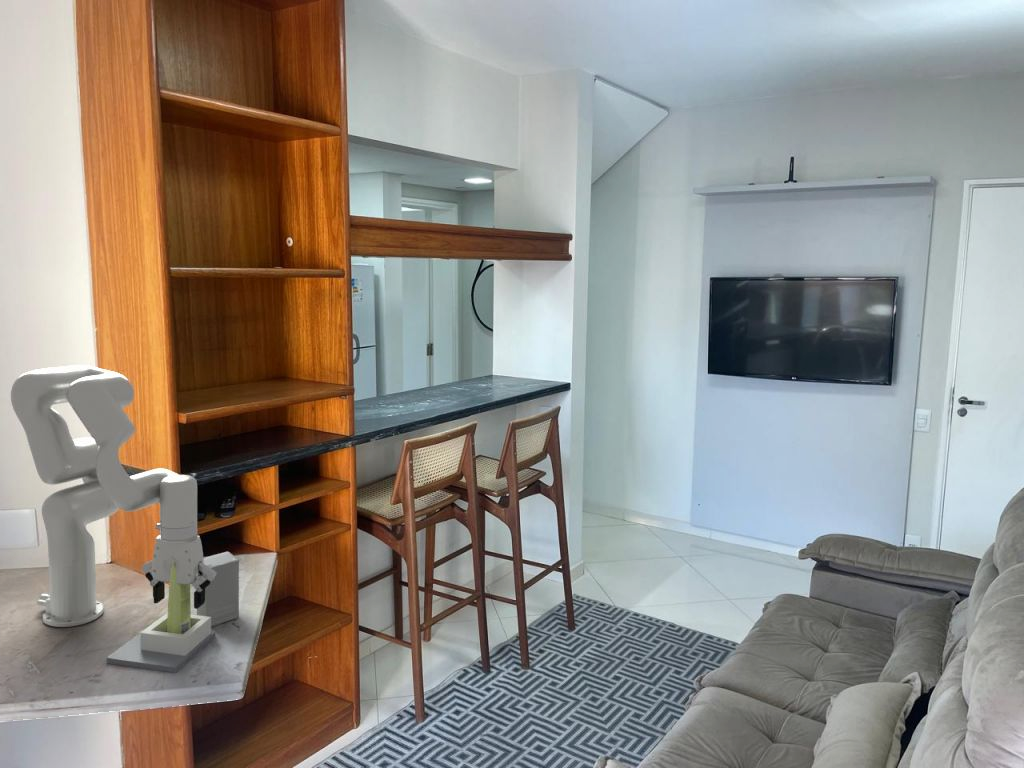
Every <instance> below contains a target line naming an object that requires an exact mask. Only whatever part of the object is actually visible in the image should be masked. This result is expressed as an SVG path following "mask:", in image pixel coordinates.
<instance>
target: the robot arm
mask: <svg viewBox="0 0 1024 768" xmlns="http://www.w3.org/2000/svg"><path fill="white" fill-rule="evenodd" d="M13 382H14V383H13V384H12V387H11V389H10V390H11V392H10V402H11V406H12V409H13V411H14V414H15V415H16V417H17V419H18V420H19V422H20V424H21V426H22V428H23V430H24V432H25V436H26V438H27V439H26V440H27V443H28V446H29V449H30V452H31V456H32V459H33V462H34V465H35V469H36V472H37V474H38V476H39V478H40V480H41V481H42V482H43V483H44V484H46V485H51V486H52V485H53V486H54V485H61V484H66V483H70V482H72V481H76V480H79V479H81V480H82V482H83V483H81V484H77V485H73V486H70V487H65V488H63V489H62V488H61V489H59V490H58V491H55V492H53V493H52V494H50V495H48V497H46V499H45V500H44V501H43V503H42V506H41V515H42V516H41V517H42V520H43V525H44V528H45V531H46V538H47V552H48V553H47V555H48V556H47V557H48V578H49V579H48V582H49V583H48V584H49V593H44V592H43V593H41V594H40V596H39V599H38V600H37V602H36V604H37V606H40V607H45V611H44V612H43V614H42V621H43V623H44V624H45V625H47V626H50V627H53V628H54V627H56V628H68V627H69V628H70V627H75V626H81V625H84V624H88V623H90V622H92V621H95V620H96V619H98V618H99V617H100V616H101V615H103V613H104V608H105V607H104V604H103V603H102V602H100V601H99V600H97V583H96V581H97V579H96V575H97V574H96V573H97V572H96V546H95V545H96V544H95V540H94V538H93V536H92V535H91V533H90V532H89V531H88V529H87V528H86V526H87V525H89V524H91V523H94V522H97V521H99V520H103V519H104V518H108V517H110V516H113V515H114V514H115V513H117V512H118V510H119V509H120V510H122V511H124V512H135V511H139V510H141V509H145V508H148V507H150V506H152V505H157V504H159V522H158V523H156V524H155V529H156V530H158V531H159V535H157V536H156V539H155V542H154V548H153V554H152V559H151V560H150V561H147V562H145V563H144V564H143V563H142V565H141V569H142V571H143V573H144V574H145V575H144V576H145V578H146V579H147V580H148V581H149V585H150V586H151V587H152V597H153V604H158V603H160V602H161V601H163V600H164V599H165V596H166V595H165V593H166V592H165V587H166V584H165V583H169V584H170V574H171V567H172V563H173V562H174V566H175V568H176V583H177V584H184V585H190V586H191V585H192V586H193V588H194V592H193V608H194V609H196V610H197V609H198V608H199V607H200V606H202V605H203V604H204V602H205V588H206V587H207V586H208V585H210V584H211V583H212V582H213V579H214V578H215V576H216V574H217V573H216V571H214V570H213V569H211V568H210V567H208V566H207V565H205V564H204V560H203V558H204V552H203V545H202V544H203V543H202V539H201V537H200V535H198V483H197V482H198V481H197V479H196V478H195V477H194V476H192V475H188V474H179V473H177V472H174V471H172V470H170V469H167V468H162V467H160V468H154V469H151V470H147V471H142V472H140V473H136V474H133V475H130V476H129V474H128V473H127V471H126V470H125V468H124V467H123V465H122V463H121V461H120V457H119V452H120V451H119V450H120V448H121V446H123V445H124V444H125V443H127V442H128V441H129V440H130V439H131V438H132V437H133V435H134V434H135V432H136V427H135V424H134V423H133V422H132V420H131V418H130V417H129V415H127V413H126V412H125V410H124V408H126V407H127V406H129V405H131V404H132V403H133V400H134V397H135V389H134V386H133V385H132V383H131V381H130V380H129V379H128V378H127V377H126V376H124V375H123V374H120V373H118V372H115V371H111V370H107V369H104V368H99V367H95V366H90V365H85V364H84V365H83V364H80V365H79V364H76V365H68V366H67V365H66V366H58V367H47V368H41V369H39V368H38V369H34V370H31V371H28V372H25V373H22V374H20V375H19V377H18V378H16V379H15V381H13ZM64 403H68V404H69V405H70V407H71V408H72V410H73V412H74V413H75V414H76V416H77V417H78V419H79V420H80V422H81V423H82V425H83V426H84V428H85V429H86V431H87V432H88V434H89V435H90V436H89V437H86V436H85V437H79V438H75V439H73V437H72V436H71V433H70V429H69V425H68V424H67V422H66V420H65V418H64V417H63V416H62V415H61V413H59V412H58V411H57V410H55V409H54V408H52V406H53V405H57V404H64ZM203 573H204V574H206V575H207V578H206V580H204V578H203V577H202V576H203ZM198 582H199V583H200V584H199V583H198Z"/></svg>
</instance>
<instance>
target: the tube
mask: <svg viewBox="0 0 1024 768" xmlns="http://www.w3.org/2000/svg"><path fill="white" fill-rule="evenodd" d="M191 605H192V603H191V584H190V585H184V584H177V583H176V568H175V566H174V562H173V563H172V567H171V574H170V583H169V587H168V601H167V612H168V619H167V633H175V634H182V635H183V634H184V633H185V632H186V631H188V630H189V629H190V628H191V614H192V611H191Z"/></svg>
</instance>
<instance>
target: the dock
mask: <svg viewBox="0 0 1024 768" xmlns="http://www.w3.org/2000/svg"><path fill="white" fill-rule="evenodd" d="M167 619H168V611H167V612H166V613H164V614H163V615H162V616H160V618H158V619H157V620H156V621H154V622H153V623H151V624H149V625H148V626H147V627H145V628H144V629H142V630H141V631H139V632H138V633H137V634H136V635H135V636H134V637H132V638H130V639H129V640H128V641H127V642H125V643H124V644H123V645H121V646H120V647H119V648H118V649H116V650H114V651H113V652H112V653H111V654H110V655H108V656H107V657H106V658H105V659H106V660H105V661H106V662H105V663H106V664H112V665H117V666H118V665H119V666H127V667H133V668H140V669H146V670H147V669H148V670H153V671H161V672H167V673H168V672H169V673H174V674H176V673H178V672H179V671H180V669H181V668H183V667H184V666H185V665H186V664H187V663H188V662H190V661H191V660H192V659H193V658H194V657H195V656H196V655H197V654H198V653H200V652H201V651H202V650H203V649H204V648H205V647H206V646H208V644H210V643H211V641H213V640H214V639H215V638H216V637H217V635H216V634H217V632H216V631H212V626H211V617H207V616H199V615H197V614H192V613H191V628H190V629H189V630H188V631H186V632H185V633H184V634H183V635H182V634H175V633H167Z"/></svg>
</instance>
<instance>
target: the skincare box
mask: <svg viewBox="0 0 1024 768" xmlns="http://www.w3.org/2000/svg"><path fill="white" fill-rule="evenodd" d="M203 560H204V564H205V565H207V566H208V567H210V568H211V569H213V570H214V571H216V573H217V574H216V576H215V578H214V579H213V582H212V583H211V584H210V585H208V586H207V587H206V588H205V602H204V604H203V605H202V606H200V607H199V608H198V609H196V615H199V616H207V617H211V627H214V626H216V625H217V626H218V625H220V624H222V623H226V622H229V621H232V620H235V619H238V618H239V617H240V605H239V604H240V602H239V601H240V597H239V596H240V595H239V593H240V590H239V588H240V587H239V586H240V585H239V583H240V580H239V579H240V576H239V575H240V573H239V572H240V571H239V570H240V560H239V559H238V558H237V557H235V556H234V555H233V553H231V552H229V551H225V552H221V553H217V554H212V555H210V556H203ZM202 577H203V578H204V580H206V578H207V575H206V574H204V573H203V576H202ZM198 583H199V582H198ZM199 584H200V583H199Z"/></svg>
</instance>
